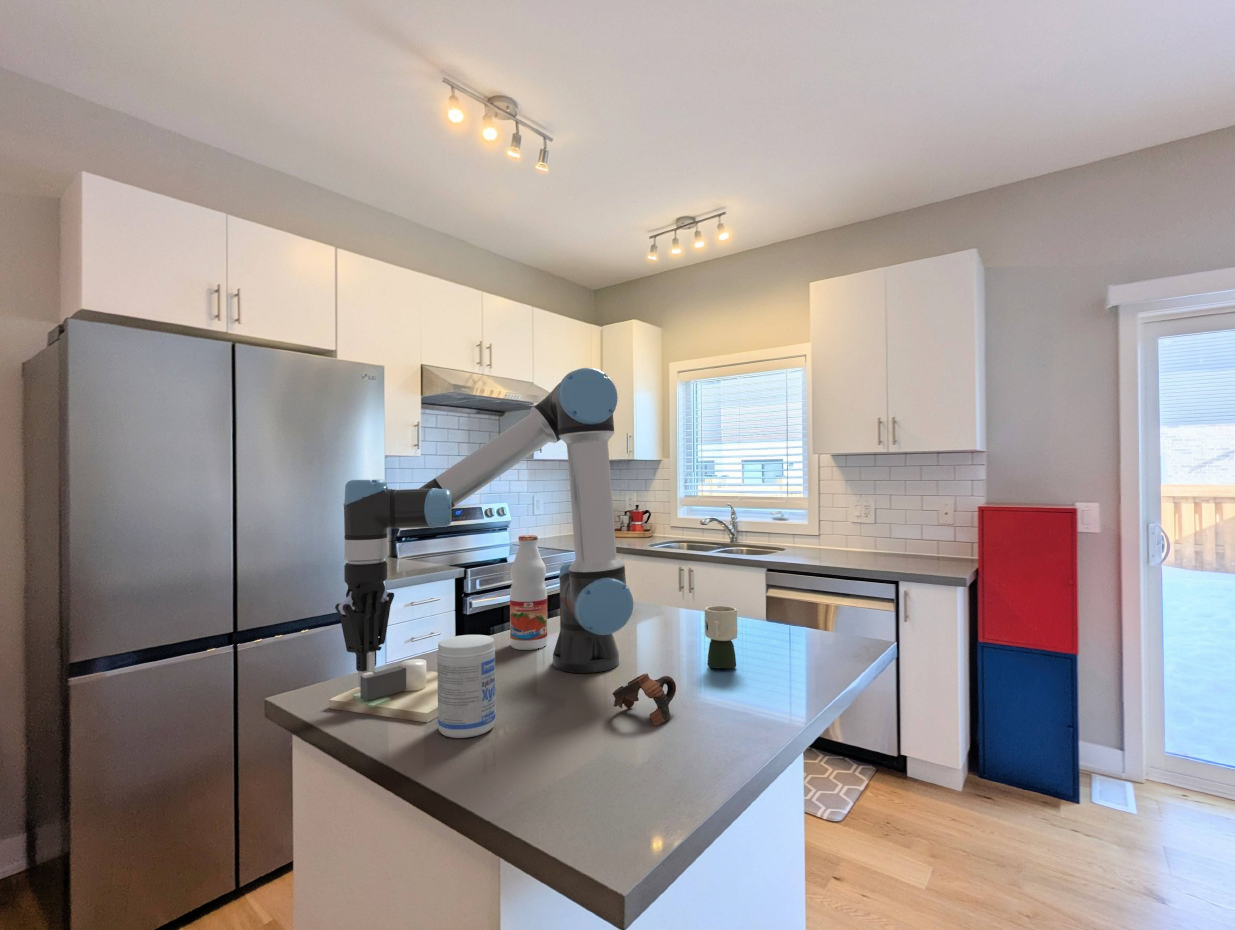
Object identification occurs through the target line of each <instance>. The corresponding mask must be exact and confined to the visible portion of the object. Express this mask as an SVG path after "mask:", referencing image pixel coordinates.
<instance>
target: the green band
mask: <svg viewBox="0 0 1235 930" xmlns="http://www.w3.org/2000/svg"><path fill="white" fill-rule="evenodd" d="M354 698H355V700H356V701H357V702H359V703H361V704H363V705H367V706H371V707H375V706H377V705H379V704H382V703H384V702H386V701H389V700H391V698H388V697H384V696H382V697H379V698H375V699H372V700H369V701H366V700H364V699H361V698H360V693H358V694H354Z"/></svg>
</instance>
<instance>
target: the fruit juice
mask: <svg viewBox="0 0 1235 930" xmlns="http://www.w3.org/2000/svg"><path fill="white" fill-rule="evenodd" d="M538 539H539V537H538V535H535V534H526V535H519V536H518V539H517V541H518V543H519V545H518V549H517V552H516V554H515V558H514V560H513V562H512V564H511V566H510V569H509V571H510V572H509V573H510V577H511V581H512V583H511V586H510V589H509V630H510V633H509V635H510V636H509V638H510V639H509V641H510V646H511V648H513V649H515V650H520V651H532V650H538V648H539V649H542V648H544V646H545V647H546V646H547V644H548V590H547V585H546V582H545V578H546V576H547V575H546V574H547V567H546V564H545V562H544V561H543V559H542V556H541V553H540V550H539V547H538Z"/></svg>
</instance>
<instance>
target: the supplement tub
mask: <svg viewBox="0 0 1235 930" xmlns="http://www.w3.org/2000/svg"><path fill="white" fill-rule="evenodd" d="M495 648H496V646H495V639H494V638H493V637H492V636H490V635H486V634H485V635H484V634H463V635H456V636H451V637H447V638H444V639H441V640H440V641H439V642H438V646H437V651H436V652H437V653H436V654H437V655H436V657H437V661H436V662H437V663H436V664H437V666H436V667H437V672H438V717H437V729H438V730H439V733H441V734H442V735H444V736H445V737H447V738H448V737H449V738H452V739H454V738H455V739H465V738H467V739H468V738H472V737H473V738H474V737H477V736H480V735H483V734H486V733H487V732H489V731H490V730H492V729H493V727H494V726H495V725H496V720H497V719H496V717H497V715H496V714H497V713H496V711H497V710H496V707H497V706H496V649H495Z"/></svg>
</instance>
